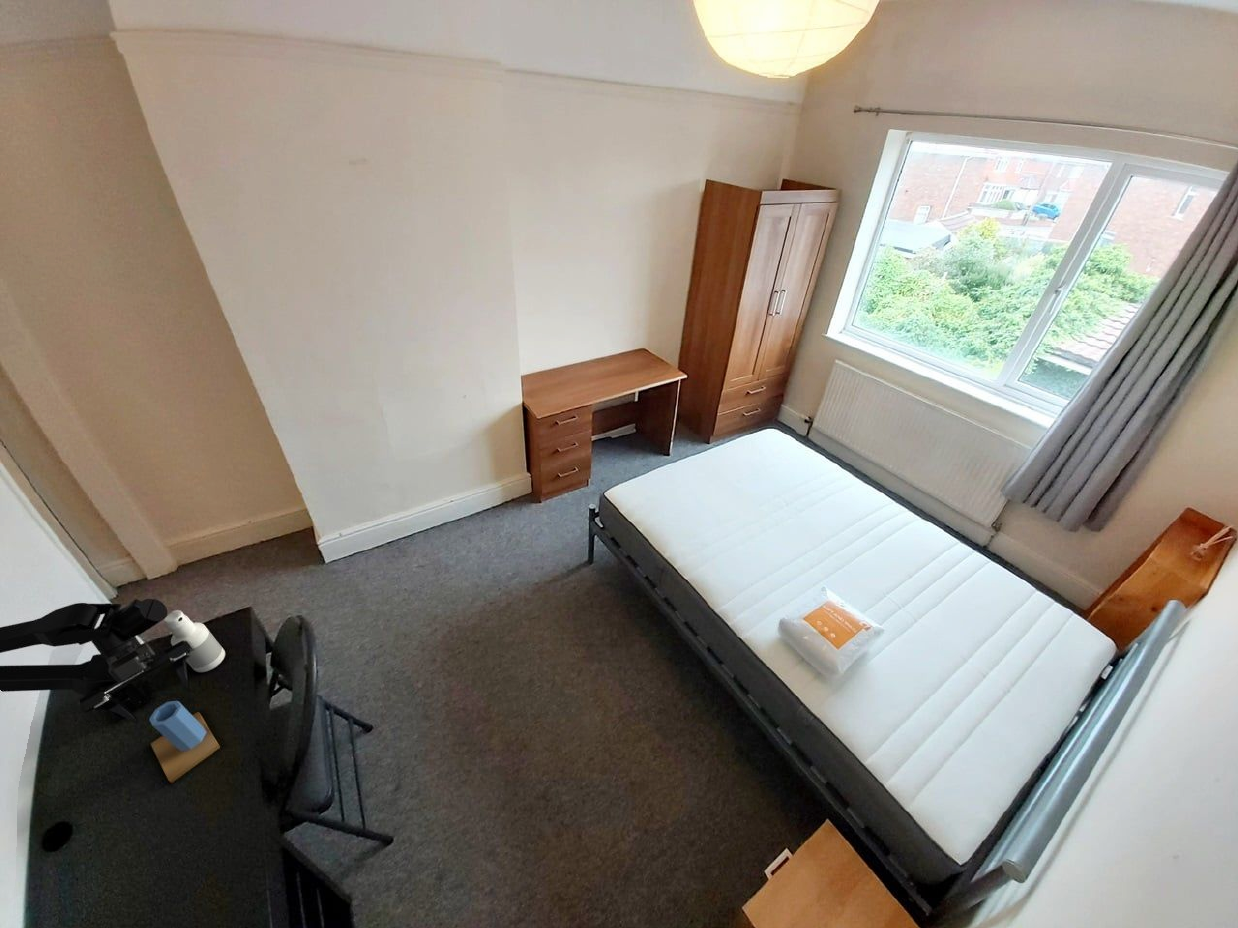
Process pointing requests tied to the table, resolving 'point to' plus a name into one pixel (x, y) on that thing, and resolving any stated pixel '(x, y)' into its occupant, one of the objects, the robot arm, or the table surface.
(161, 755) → the base
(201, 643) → the spray bottle
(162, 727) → the sleeve
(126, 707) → the robot arm
